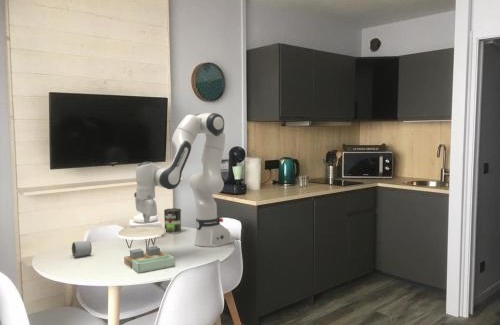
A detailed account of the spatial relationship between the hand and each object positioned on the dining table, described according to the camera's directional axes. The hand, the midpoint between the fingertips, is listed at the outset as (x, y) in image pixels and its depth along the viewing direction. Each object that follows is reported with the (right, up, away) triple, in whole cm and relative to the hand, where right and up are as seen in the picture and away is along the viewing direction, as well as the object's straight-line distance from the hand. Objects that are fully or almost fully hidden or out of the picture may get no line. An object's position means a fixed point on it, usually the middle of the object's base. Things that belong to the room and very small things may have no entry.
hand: (146, 222), depth 213 cm
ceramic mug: (-35, -18, +5) cm, 39 cm away
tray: (+7, -18, -17) cm, 26 cm away
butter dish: (-12, -15, +46) cm, 50 cm away
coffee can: (+3, -14, +55) cm, 56 cm away
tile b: (-2, -15, -10) cm, 18 cm away
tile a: (+4, -14, -5) cm, 16 cm away
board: (+2, -18, -9) cm, 20 cm away
